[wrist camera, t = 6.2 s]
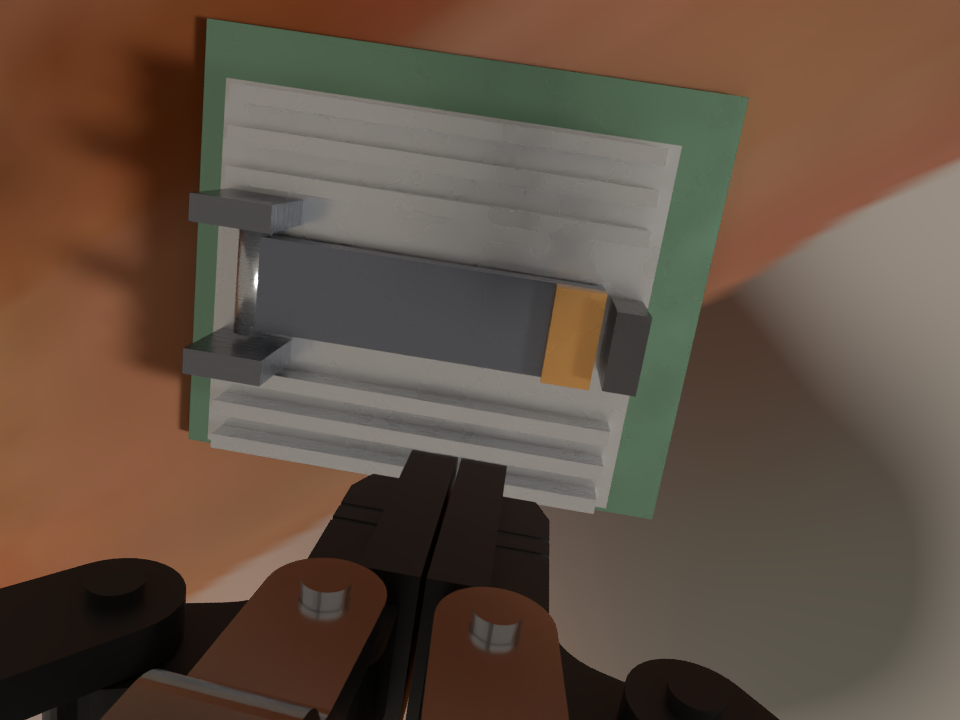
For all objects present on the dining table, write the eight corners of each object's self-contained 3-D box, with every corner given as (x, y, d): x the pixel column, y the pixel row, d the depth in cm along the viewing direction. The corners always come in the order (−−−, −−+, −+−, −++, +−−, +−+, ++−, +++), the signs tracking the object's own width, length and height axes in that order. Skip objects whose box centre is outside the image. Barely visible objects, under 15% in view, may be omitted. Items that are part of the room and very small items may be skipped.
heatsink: (214, 21, 27) (95, -26, 20) (744, 98, 26) (816, 78, 19) (195, 433, 32) (92, 514, 25) (650, 512, 31) (679, 620, 24)
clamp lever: (240, 326, 25) (222, 336, 24) (246, 223, 24) (228, 228, 23) (584, 382, 25) (587, 396, 23) (604, 280, 24) (608, 288, 22)
